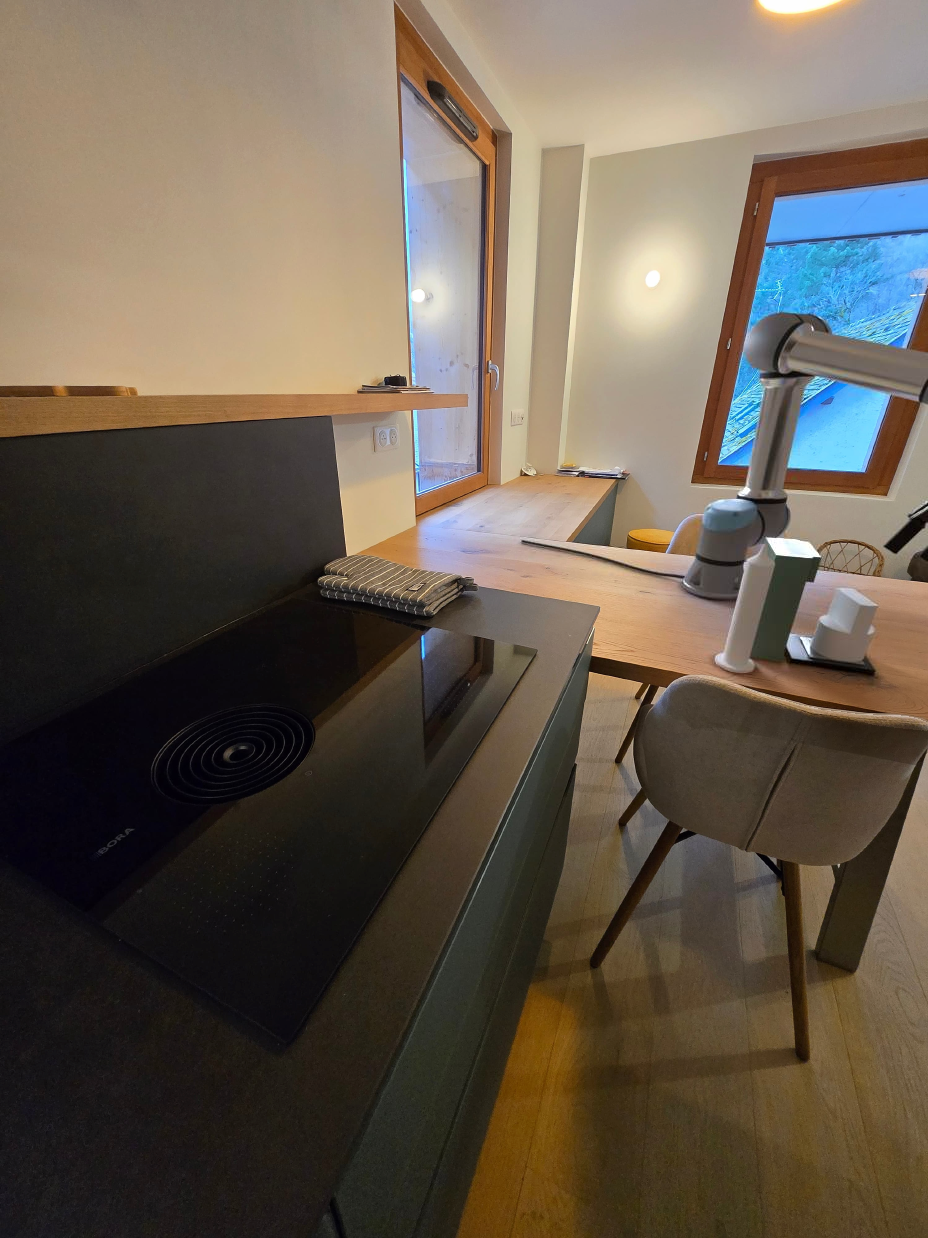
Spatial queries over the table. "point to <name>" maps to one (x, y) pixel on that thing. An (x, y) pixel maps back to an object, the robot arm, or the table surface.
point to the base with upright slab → (845, 627)
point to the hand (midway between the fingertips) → (905, 555)
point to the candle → (747, 614)
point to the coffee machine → (792, 610)
